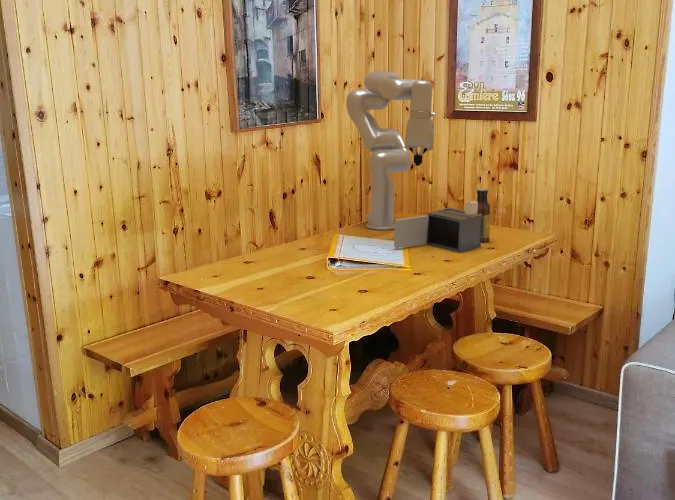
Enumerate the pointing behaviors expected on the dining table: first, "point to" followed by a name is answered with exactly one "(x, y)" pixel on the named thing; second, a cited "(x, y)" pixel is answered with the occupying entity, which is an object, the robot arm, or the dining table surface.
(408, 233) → the door
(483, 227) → the sauce bottle
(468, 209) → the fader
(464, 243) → the dark grey box
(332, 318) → the dining table surface
